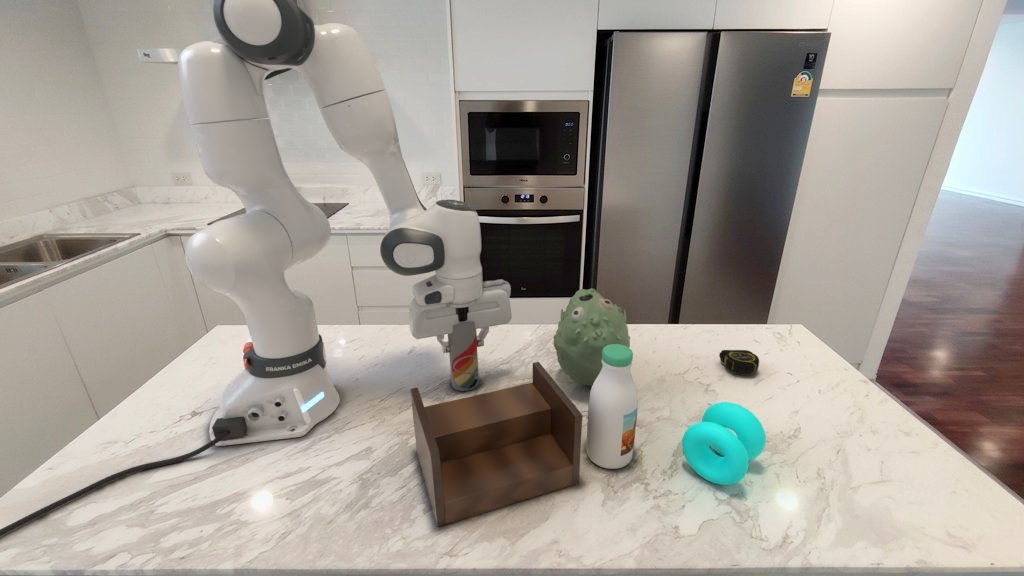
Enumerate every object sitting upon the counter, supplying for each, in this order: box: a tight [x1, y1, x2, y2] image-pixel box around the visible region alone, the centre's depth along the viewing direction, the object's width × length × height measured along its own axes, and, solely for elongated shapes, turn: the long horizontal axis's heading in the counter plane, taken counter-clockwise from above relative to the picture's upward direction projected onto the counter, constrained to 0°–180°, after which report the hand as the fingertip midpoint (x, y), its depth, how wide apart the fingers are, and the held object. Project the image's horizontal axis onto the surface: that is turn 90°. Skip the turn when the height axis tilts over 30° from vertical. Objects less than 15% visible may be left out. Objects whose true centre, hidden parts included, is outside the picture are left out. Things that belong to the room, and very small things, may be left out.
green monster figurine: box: [553, 288, 631, 386], centre depth 98 cm, size 16×19×20 cm
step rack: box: [409, 361, 583, 527], centre depth 76 cm, size 22×16×13 cm
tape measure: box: [718, 349, 760, 376], centre depth 104 cm, size 7×7×4 cm
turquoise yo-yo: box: [681, 401, 767, 486], centre depth 76 cm, size 10×10×10 cm
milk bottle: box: [585, 344, 639, 470], centre depth 77 cm, size 8×8×20 cm
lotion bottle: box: [447, 307, 479, 392], centre depth 97 cm, size 6×6×20 cm
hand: (462, 348), depth 97 cm, fingers closed on lotion bottle, 5 cm apart
